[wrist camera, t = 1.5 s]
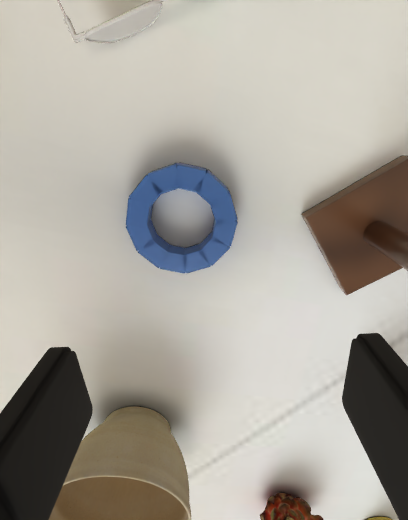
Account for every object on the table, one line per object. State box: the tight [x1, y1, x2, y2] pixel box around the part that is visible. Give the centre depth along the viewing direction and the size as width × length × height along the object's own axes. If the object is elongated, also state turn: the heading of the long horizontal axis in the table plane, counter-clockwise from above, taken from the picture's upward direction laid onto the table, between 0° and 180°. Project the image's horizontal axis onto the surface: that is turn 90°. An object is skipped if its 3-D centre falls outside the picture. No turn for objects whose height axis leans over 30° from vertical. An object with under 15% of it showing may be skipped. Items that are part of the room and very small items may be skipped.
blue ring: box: [126, 163, 237, 273], centre depth 28 cm, size 10×10×2 cm
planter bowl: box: [49, 407, 191, 520], centre depth 36 cm, size 16×16×11 cm
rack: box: [302, 156, 408, 295], centre depth 23 cm, size 10×10×12 cm
